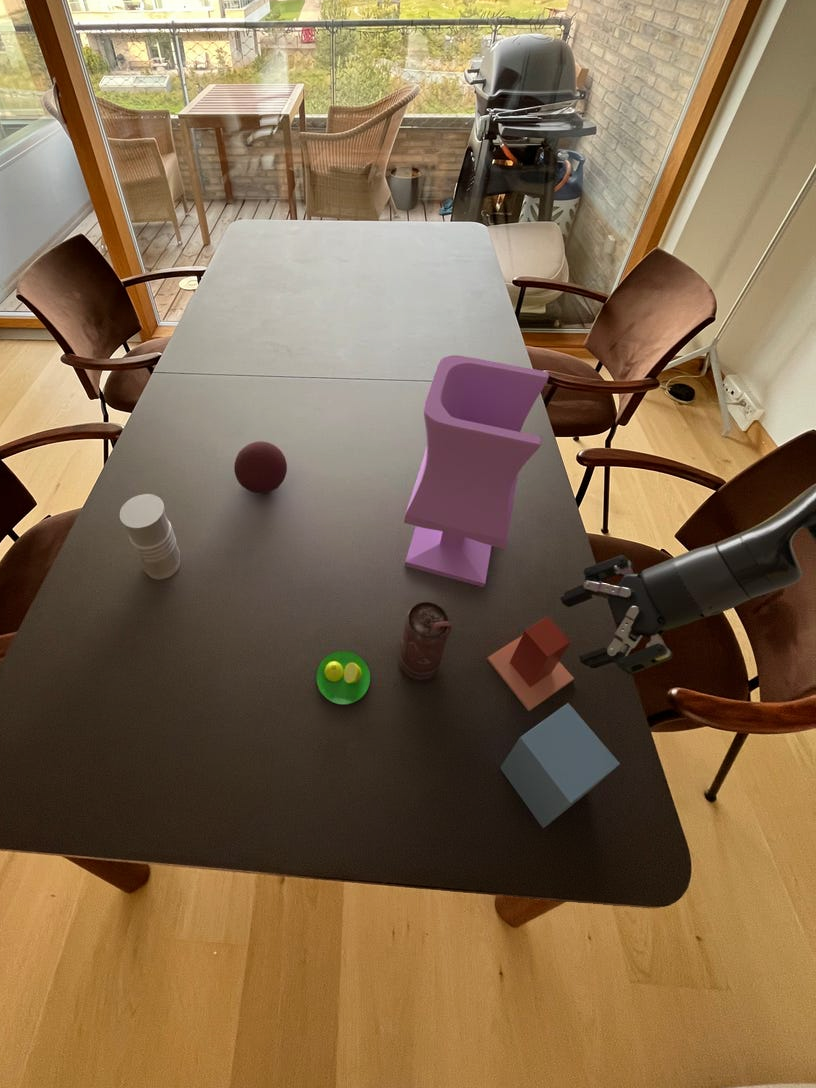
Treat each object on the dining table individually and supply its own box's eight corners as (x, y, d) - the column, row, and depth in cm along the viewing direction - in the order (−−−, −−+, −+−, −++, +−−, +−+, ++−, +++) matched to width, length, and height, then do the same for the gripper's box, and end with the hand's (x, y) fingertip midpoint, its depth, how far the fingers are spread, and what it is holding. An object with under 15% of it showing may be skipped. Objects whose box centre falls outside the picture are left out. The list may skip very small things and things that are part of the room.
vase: (488, 593, 95) (542, 445, 70) (397, 568, 99) (418, 418, 74) (500, 522, 105) (550, 371, 81) (417, 502, 109) (441, 351, 84)
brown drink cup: (442, 685, 84) (456, 641, 74) (399, 684, 84) (407, 640, 74) (437, 646, 89) (450, 599, 79) (396, 645, 89) (404, 599, 79)
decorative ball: (280, 508, 108) (276, 472, 101) (230, 499, 110) (222, 463, 102) (294, 470, 115) (291, 434, 108) (247, 462, 116) (241, 427, 109)
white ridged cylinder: (133, 569, 99) (109, 515, 88) (163, 542, 103) (143, 487, 92) (161, 589, 96) (139, 535, 85) (191, 560, 100) (173, 505, 89)
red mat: (573, 680, 85) (574, 678, 84) (528, 711, 82) (529, 710, 81) (530, 631, 90) (531, 629, 90) (486, 659, 87) (487, 657, 87)
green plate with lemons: (365, 649, 88) (366, 641, 86) (374, 702, 83) (375, 694, 81) (314, 656, 88) (313, 647, 86) (319, 709, 82) (318, 701, 80)
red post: (551, 672, 85) (571, 641, 78) (529, 687, 83) (547, 657, 76) (530, 648, 88) (548, 616, 81) (509, 662, 86) (524, 630, 79)
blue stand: (588, 792, 74) (620, 763, 66) (543, 828, 72) (570, 803, 63) (543, 736, 79) (568, 702, 71) (499, 768, 76) (520, 737, 68)
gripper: (657, 525, 72) (544, 575, 80) (710, 629, 62) (575, 674, 70) (681, 549, 76) (570, 594, 84) (734, 650, 66) (603, 691, 74)
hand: (572, 631), depth 77 cm, fingers open, 8 cm apart
